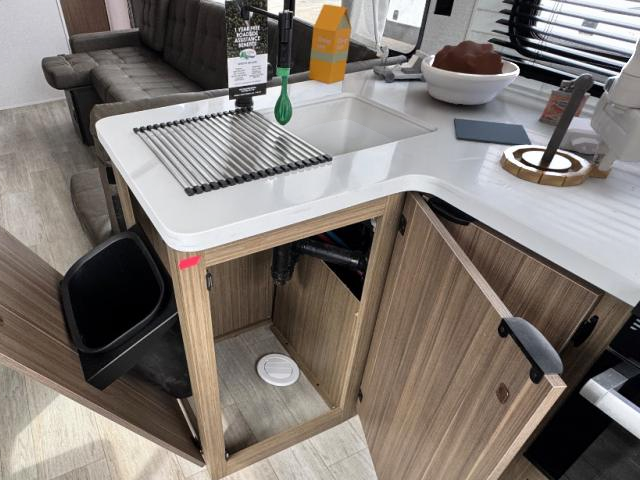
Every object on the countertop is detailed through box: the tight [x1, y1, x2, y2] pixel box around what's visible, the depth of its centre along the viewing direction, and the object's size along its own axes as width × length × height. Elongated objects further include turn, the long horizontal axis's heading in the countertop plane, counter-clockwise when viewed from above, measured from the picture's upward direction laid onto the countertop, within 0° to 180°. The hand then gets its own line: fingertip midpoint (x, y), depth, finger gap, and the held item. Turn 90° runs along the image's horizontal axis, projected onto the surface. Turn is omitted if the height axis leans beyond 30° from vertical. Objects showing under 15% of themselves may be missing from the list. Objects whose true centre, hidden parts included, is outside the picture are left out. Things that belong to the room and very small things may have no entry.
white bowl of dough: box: [421, 39, 520, 106], centre depth 120 cm, size 25×25×15 cm
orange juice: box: [308, 4, 352, 85], centre depth 135 cm, size 8×9×20 cm
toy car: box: [372, 44, 431, 84], centre depth 140 cm, size 18×10×12 cm
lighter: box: [538, 78, 591, 126], centre depth 108 cm, size 8×3×10 cm, turn 55°
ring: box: [499, 144, 613, 187], centre depth 89 cm, size 19×16×2 cm
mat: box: [453, 117, 533, 147], centre depth 105 cm, size 16×14×1 cm
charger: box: [559, 116, 600, 155], centre depth 96 cm, size 5×9×15 cm
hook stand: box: [519, 73, 595, 173], centre depth 84 cm, size 9×9×18 cm
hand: (599, 166), depth 86 cm, fingers closed on ring, 1 cm apart
